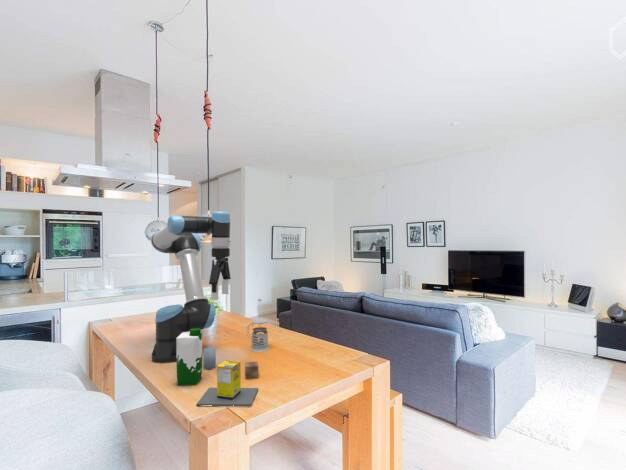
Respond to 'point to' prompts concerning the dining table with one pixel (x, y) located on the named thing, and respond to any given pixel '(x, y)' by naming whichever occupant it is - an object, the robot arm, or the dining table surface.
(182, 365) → the soya milk
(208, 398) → the charcoal mat
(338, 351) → the dining table surface
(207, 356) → the slate-blue pebble
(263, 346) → the grey wire-handled lantern
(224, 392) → the supplement box
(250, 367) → the walnut block
